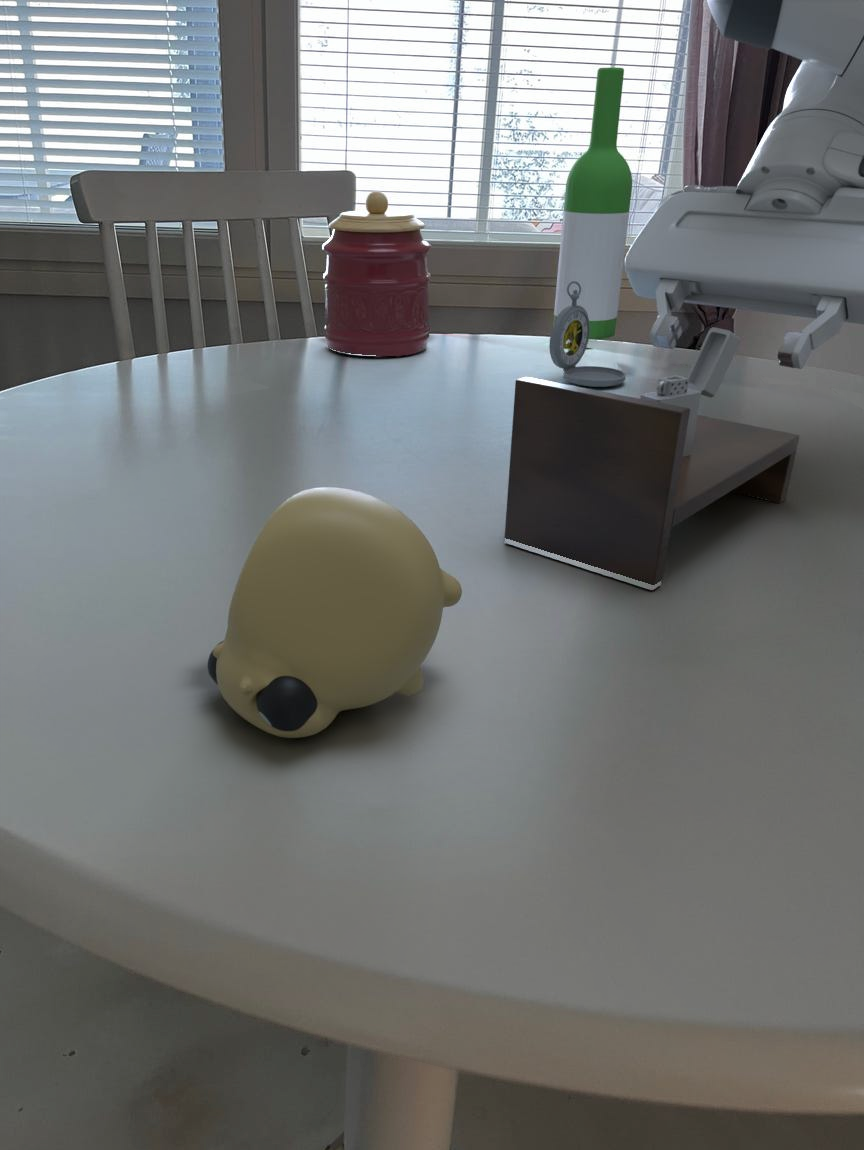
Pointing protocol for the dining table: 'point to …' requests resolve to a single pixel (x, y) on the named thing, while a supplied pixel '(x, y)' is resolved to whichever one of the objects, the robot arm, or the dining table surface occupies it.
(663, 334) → the robot arm
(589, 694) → the dining table surface
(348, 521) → the toy pig
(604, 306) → the wine bottle
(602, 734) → the dining table surface
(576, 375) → the pocket watch
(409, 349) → the kitchen canister
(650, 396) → the lighter
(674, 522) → the shelf
